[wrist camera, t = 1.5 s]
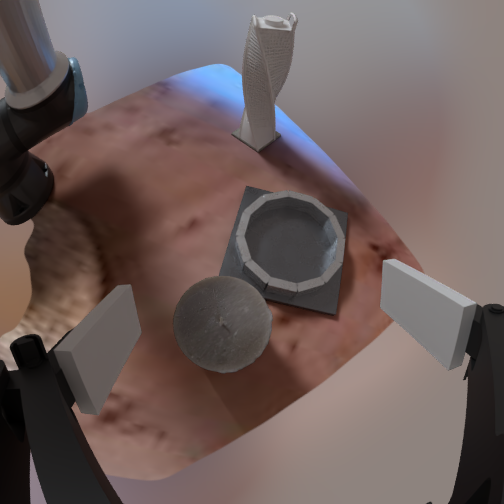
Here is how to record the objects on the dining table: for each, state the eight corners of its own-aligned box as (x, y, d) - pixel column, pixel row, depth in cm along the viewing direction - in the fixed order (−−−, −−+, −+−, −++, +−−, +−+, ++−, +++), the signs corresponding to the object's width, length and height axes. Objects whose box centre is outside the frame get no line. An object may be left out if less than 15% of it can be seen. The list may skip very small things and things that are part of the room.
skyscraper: (286, 139, 56) (316, 14, 30) (259, 159, 53) (282, 21, 28) (254, 119, 58) (270, -2, 32) (227, 137, 55) (233, 6, 29)
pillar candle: (181, 313, 41) (159, 284, 27) (246, 296, 43) (256, 259, 29) (199, 379, 37) (184, 385, 24) (267, 360, 39) (288, 355, 26)
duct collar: (216, 287, 43) (215, 278, 39) (246, 189, 50) (247, 174, 46) (333, 315, 42) (343, 309, 39) (345, 215, 50) (353, 203, 46)
